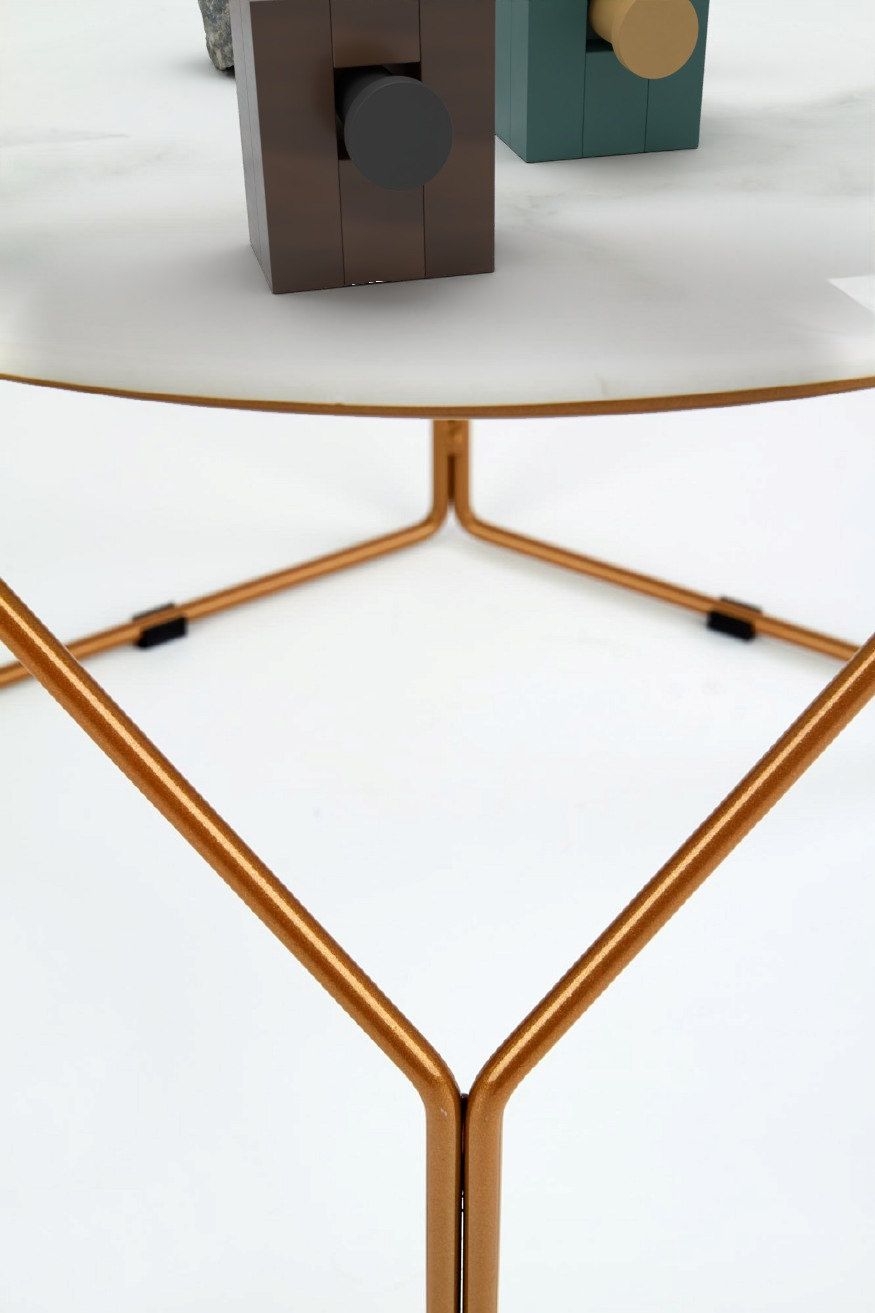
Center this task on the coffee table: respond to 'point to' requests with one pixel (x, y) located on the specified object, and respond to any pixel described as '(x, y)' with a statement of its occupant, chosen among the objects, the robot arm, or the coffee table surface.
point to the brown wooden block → (314, 152)
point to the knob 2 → (647, 33)
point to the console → (586, 87)
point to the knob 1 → (393, 127)
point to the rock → (218, 31)
